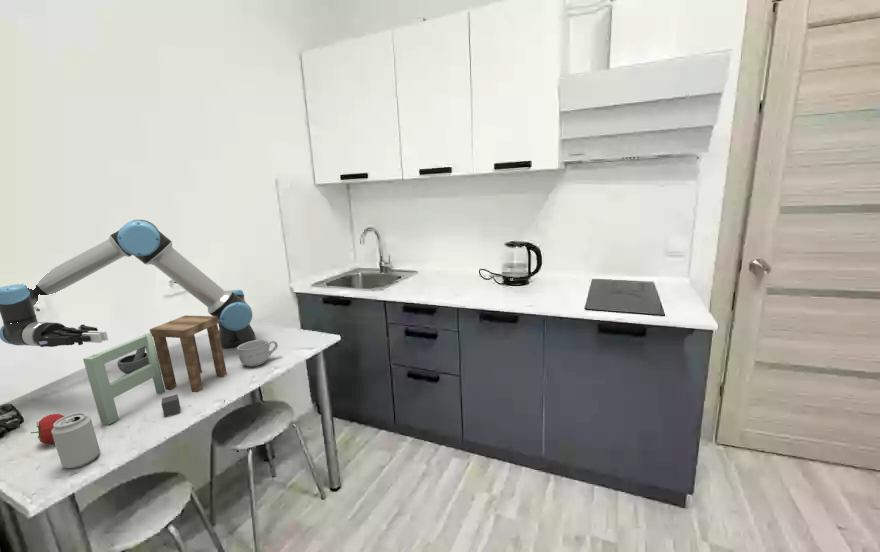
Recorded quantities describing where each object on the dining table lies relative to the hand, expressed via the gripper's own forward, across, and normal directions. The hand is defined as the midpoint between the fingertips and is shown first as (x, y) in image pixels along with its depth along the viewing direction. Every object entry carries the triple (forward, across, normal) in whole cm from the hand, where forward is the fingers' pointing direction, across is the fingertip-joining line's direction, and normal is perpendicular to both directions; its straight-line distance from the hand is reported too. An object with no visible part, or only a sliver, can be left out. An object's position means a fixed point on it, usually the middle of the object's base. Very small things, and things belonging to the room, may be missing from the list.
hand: (103, 337), depth 124 cm
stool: (+10, -19, -24) cm, 32 cm away
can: (+15, +22, -24) cm, 36 cm away
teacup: (+23, -36, -24) cm, 49 cm away
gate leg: (+4, -1, -24) cm, 24 cm away
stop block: (+19, -1, -24) cm, 31 cm away
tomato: (-2, +17, -24) cm, 30 cm away
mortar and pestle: (-18, -21, -24) cm, 37 cm away
